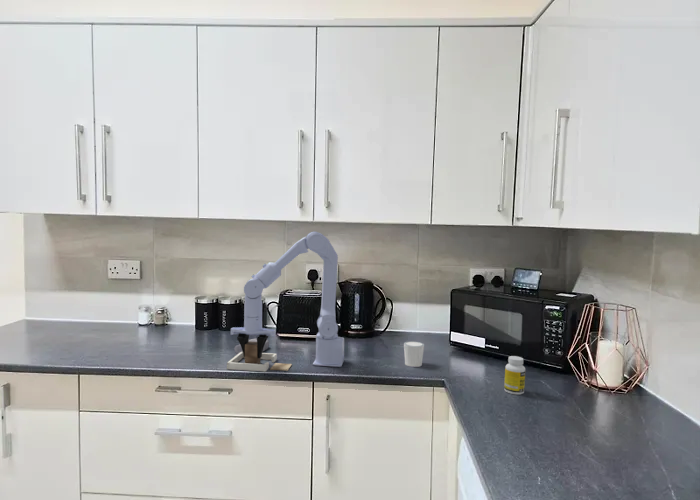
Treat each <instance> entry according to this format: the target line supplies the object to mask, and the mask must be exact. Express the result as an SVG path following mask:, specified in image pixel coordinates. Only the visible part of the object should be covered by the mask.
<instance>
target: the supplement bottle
mask: <svg viewBox="0 0 700 500" xmlns="http://www.w3.org/2000/svg"><path fill="white" fill-rule="evenodd" d="M507 361H508V363H507V364H506V365H505V369H504V385H503V386H504V387H503V388H504V391H505V392H506V393H508V394H511V395H523V394H525V386H526V385H525V384H526V383H525V382H526V367H525V366H524V358H523V357H522V356H518V355H511V356H508V359H507Z"/></svg>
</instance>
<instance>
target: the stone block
mask: <svg viewBox="0 0 700 500" xmlns="http://www.w3.org/2000/svg"><path fill="white" fill-rule="evenodd" d="M249 341H252V342H257V337H256V338H252V339H250V338H249ZM249 341H248V342H249ZM269 348H270V340H269V339H267V340H266V343H265V345H264V348H263V351H262V353H264V352H266V350H268V349H269ZM240 352H243V351H242V348H241V345H240V343H239V344H238V345H237V344H236V345H235V346H234V353H235V355H237V354H239V353H240Z"/></svg>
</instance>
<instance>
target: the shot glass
mask: <svg viewBox="0 0 700 500" xmlns="http://www.w3.org/2000/svg"><path fill="white" fill-rule="evenodd" d="M403 350H404V351H403V352H404V365H405V366H407V367H412V368H414V367H415V368H418V367H419V368H420V367H421V366H422V365H423V359H424V358H423V357H424V350H425V343H422V342H420V341H405V342H403Z"/></svg>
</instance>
